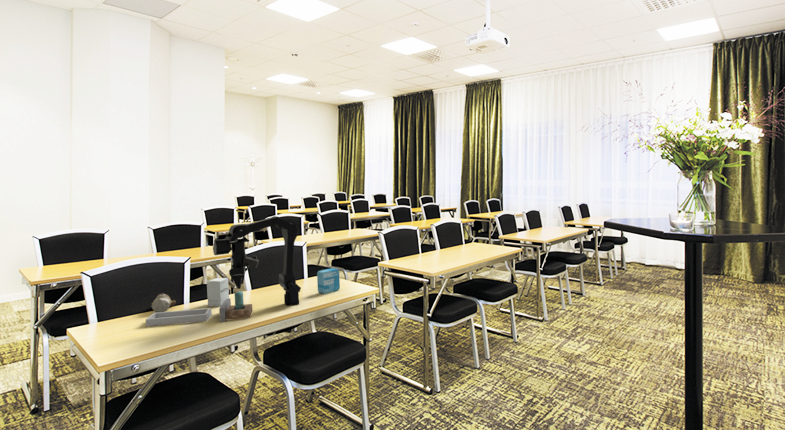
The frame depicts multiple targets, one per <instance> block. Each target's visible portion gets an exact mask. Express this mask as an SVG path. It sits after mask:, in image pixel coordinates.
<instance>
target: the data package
mask: <svg viewBox="0 0 785 430" xmlns="http://www.w3.org/2000/svg"><path fill="white" fill-rule="evenodd" d="M316 278H317V279H316V280H317V292H318V293H319V294H323V295H326V294H330V293H333V292H338V291H339V290H340V288H341V287H340V286H341V284H340V280H341V279H340V269H338V268H333V267H331V268H326V269H321V270H318V271H317V273H316ZM337 290H338V291H337Z"/></svg>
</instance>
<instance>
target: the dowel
mask: <svg viewBox="0 0 785 430" xmlns="http://www.w3.org/2000/svg"><path fill="white" fill-rule="evenodd" d="M234 305H235V310H237V309H244V305H245V304H244V291H242V290H241V291H240V290H239V291H235V292H234Z"/></svg>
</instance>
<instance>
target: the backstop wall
mask: <svg viewBox="0 0 785 430" xmlns="http://www.w3.org/2000/svg"><path fill="white" fill-rule="evenodd" d="M231 303H232V301H231V298H229V299H225V301H224V302H223V304H222V305H221V307H219V308H218V310H219V311H218V312H219V322H220V323H222V322H223V323H224V322H226V321H227V320H226V311H227V309H228V307H229V306H232V304H231Z"/></svg>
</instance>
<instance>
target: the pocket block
mask: <svg viewBox="0 0 785 430" xmlns="http://www.w3.org/2000/svg"><path fill="white" fill-rule="evenodd" d="M253 312H254V311H253V304H252V303H248V304H247V303H246V304H244V309H237V310H235V304H234V305H231V306H229V307H228V309H227V311H226V321H232V320H240V319H243V320H244V319H250V318H251V316H252V314H253Z"/></svg>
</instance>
